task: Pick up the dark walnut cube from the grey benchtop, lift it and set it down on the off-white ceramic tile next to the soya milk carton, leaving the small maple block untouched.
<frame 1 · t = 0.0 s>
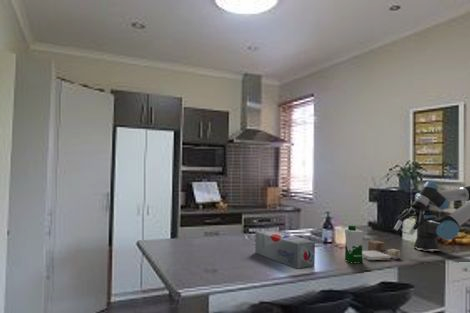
hand: (402, 231, 222), 15 cm above the counter, tool tilted 35°, fingers open, 13 cm apart
soya milk: (353, 262, 205), on the counter
tile: (372, 257, 216), on the counter
maple block: (393, 258, 216), on the counter
soda pack: (282, 259, 207), on the counter
walnut cube: (376, 253, 229), on the counter
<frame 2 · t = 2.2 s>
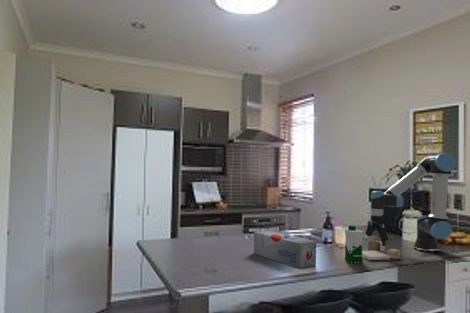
hand: (375, 248, 229), 3 cm above the counter, tool pointing down, fingers open, 13 cm apart
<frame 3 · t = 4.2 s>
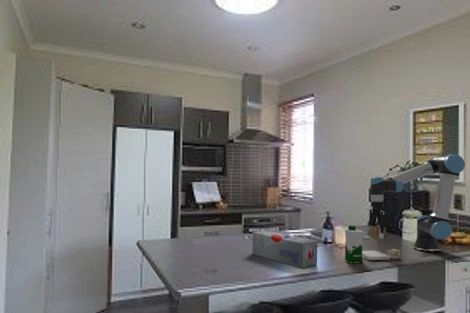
hand: (377, 237, 229), 10 cm above the counter, tool pointing down, fingers closed on walnut cube, 7 cm apart
walnut cube: (377, 237, 229), point 10 cm above the counter, touching gripper
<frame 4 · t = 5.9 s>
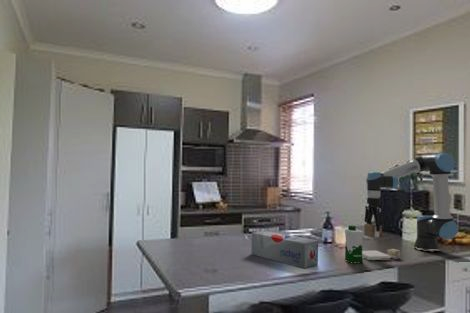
hand: (373, 235, 216), 13 cm above the counter, tool pointing down, fingers closed on walnut cube, 7 cm apart
walnut cube: (372, 236, 216), point 13 cm above the counter, touching gripper
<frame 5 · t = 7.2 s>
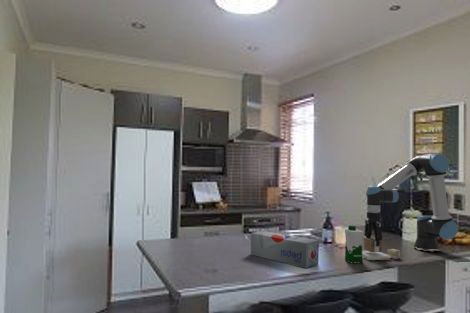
hand: (372, 250, 216), 5 cm above the counter, tool pointing down, fingers closed on walnut cube, 7 cm apart
walnut cube: (372, 250, 216), point 4 cm above the counter, touching gripper
when the fingers open (3 cm above the counter, at t = 8.0 s): walnut cube stays where it is, resting on tile.
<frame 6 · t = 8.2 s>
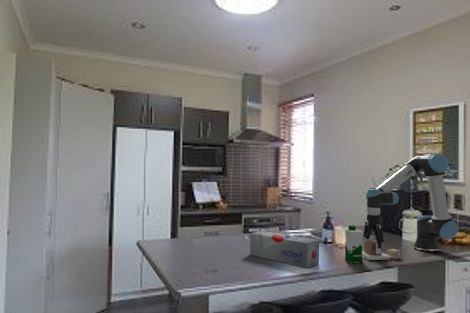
hand: (372, 251, 216), 4 cm above the counter, tool pointing down, fingers open, 10 cm apart
walnut cube: (372, 253, 216), point 2 cm above the counter, touching tile
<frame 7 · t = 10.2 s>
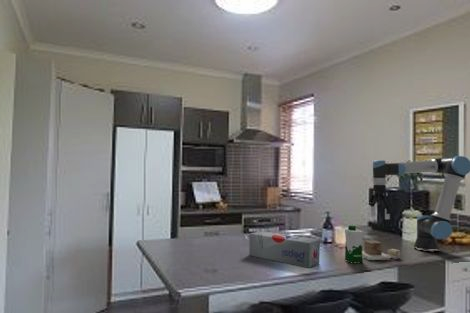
hand: (380, 217, 229), 22 cm above the counter, tool pointing down, fingers open, 13 cm apart
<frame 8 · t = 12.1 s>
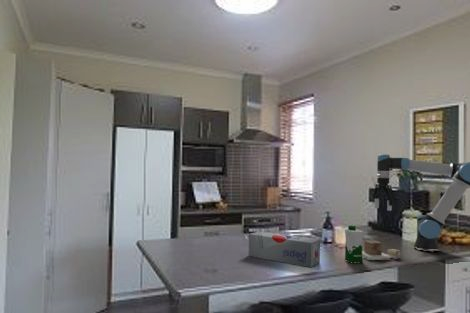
hand: (382, 209, 240), 27 cm above the counter, tool pointing down, fingers open, 13 cm apart
at the end: walnut cube inside the target area on the tile (0.0 cm from its centre), point 2.5 cm above the tile's base; walnut cube tilted 0°; the gripper is holding nothing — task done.
